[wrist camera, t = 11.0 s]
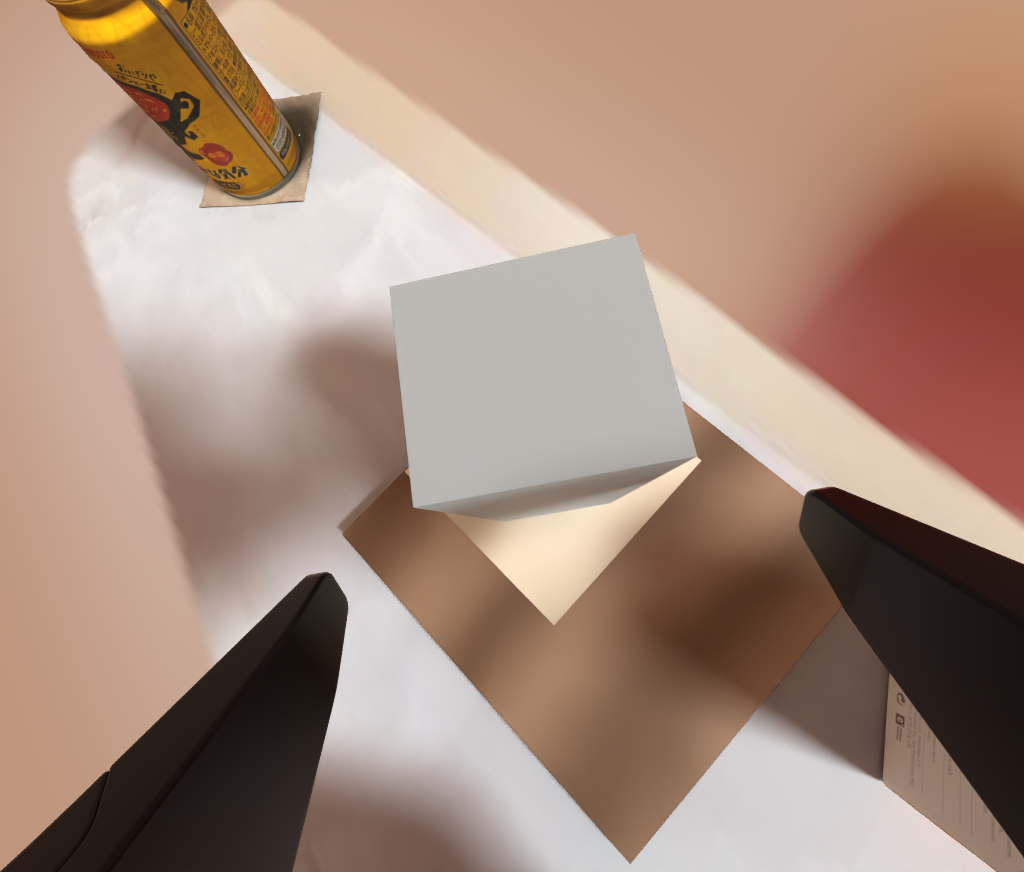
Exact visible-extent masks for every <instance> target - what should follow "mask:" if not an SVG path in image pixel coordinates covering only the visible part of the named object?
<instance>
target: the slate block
mask: <svg viewBox="0 0 1024 872" xmlns="http://www.w3.org/2000/svg"><path fill="white" fill-rule="evenodd" d="M390 297H391V306H392V315H393V324H394V334H395V343H396V352H397V362H398V371H399V380H400V389H401V399H402V408H403V417H404V426H405V436H406V445H407V454H408V463H409V473H410V482H411V491H412V501H413V508H420V509H426V510H432V511H438V512H445V513H451V514H457V515H464V516H470V517H476V518H482V519H489V520H495V521H501V522H507V521H512V520H518V519H524V518H529V517H535V516H541V515H547V514H552V513H558V512H564V511H570V510H575V509H581V508H587V507H592V506H598V505H604V504H610V503H612V502H614V501H615V500H617V499H619V498H621V497H623V496H625V495H627V494H628V493H630V492H632V491H634V490H636V489H638V488H640V487H641V486H643V485H645V484H647V483H649V482H651V481H653V480H654V479H656V478H658V477H660V476H662V475H664V474H666V473H667V472H669V471H671V470H673V469H675V468H677V467H679V466H680V465H682V464H684V463H686V462H688V461H690V460H692V459H693V458H695V457H697V453H696V449H695V446H694V442H693V439H692V435H691V431H690V428H689V424H688V421H687V417H686V414H685V410H684V406H683V403H682V399H681V396H680V392H679V388H678V385H677V381H676V378H675V374H674V371H673V367H672V363H671V360H670V356H669V353H668V349H667V345H666V342H665V338H664V335H663V331H662V328H661V324H660V320H659V317H658V313H657V310H656V306H655V302H654V299H653V295H652V292H651V288H650V285H649V281H648V277H647V274H646V270H645V267H644V263H643V259H642V256H641V252H640V249H639V245H638V242H637V238H636V234H635V233H633V234H629V235H624V236H620V237H615V238H610V239H606V240H601V241H597V242H592V243H588V244H583V245H578V246H574V247H569V248H565V249H560V250H556V251H551V252H546V253H542V254H537V255H533V256H528V257H524V258H519V259H515V260H510V261H505V262H501V263H496V264H492V265H487V266H483V267H478V268H473V269H469V270H464V271H460V272H455V273H451V274H446V275H442V276H437V277H432V278H428V279H423V280H419V281H414V282H410V283H405V284H400V285H396V286H391V287H390Z"/></svg>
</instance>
